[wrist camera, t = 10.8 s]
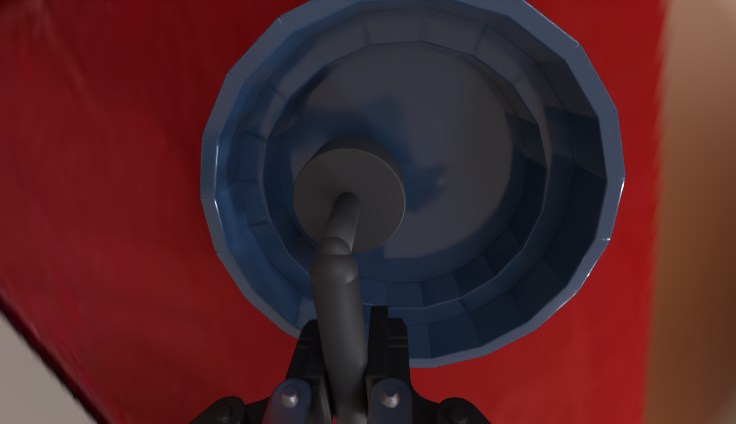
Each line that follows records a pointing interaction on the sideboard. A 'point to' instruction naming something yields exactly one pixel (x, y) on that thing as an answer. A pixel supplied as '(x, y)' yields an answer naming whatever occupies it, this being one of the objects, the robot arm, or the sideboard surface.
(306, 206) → the door handle
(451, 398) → the robot arm
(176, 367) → the sideboard surface
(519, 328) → the bowl
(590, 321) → the sideboard surface
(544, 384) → the sideboard surface
